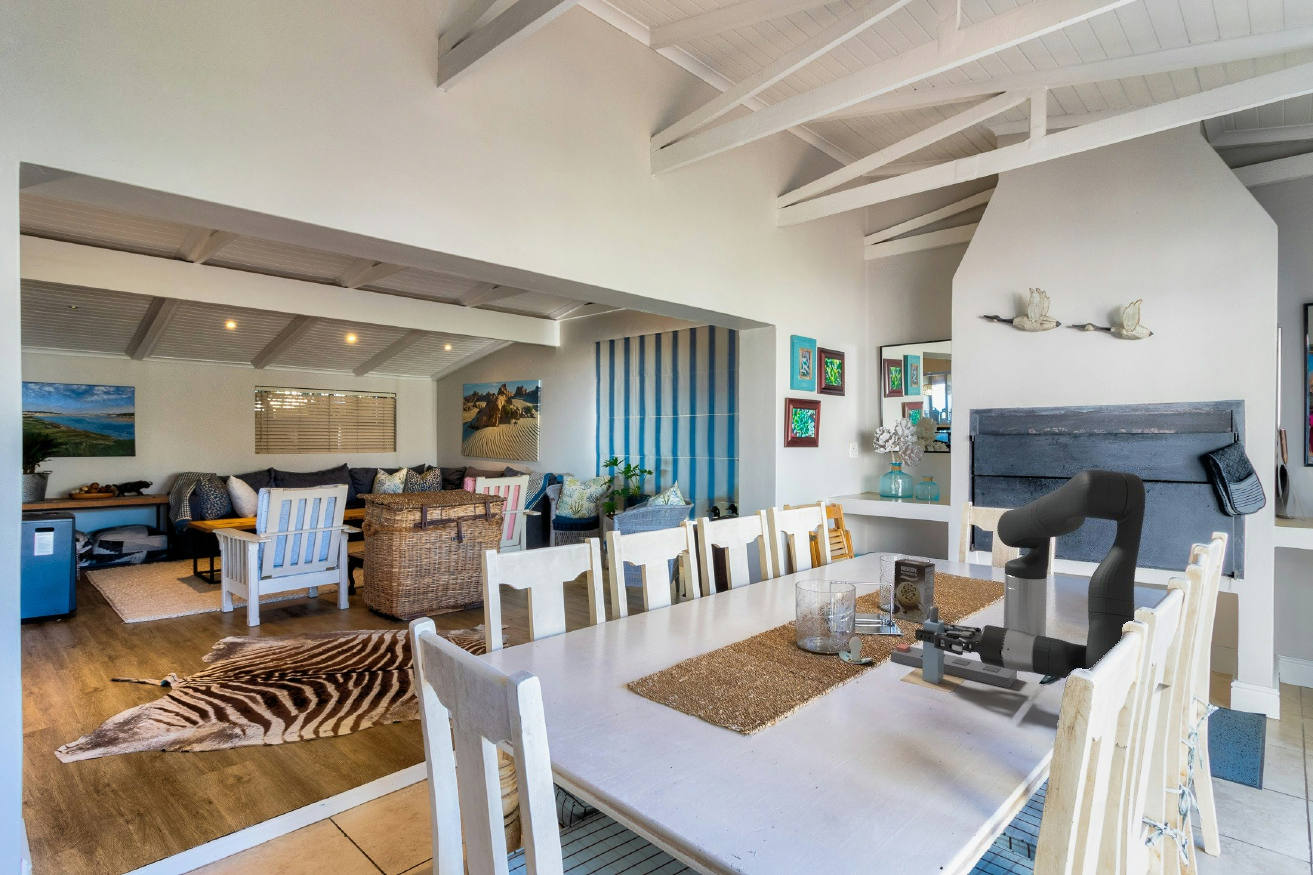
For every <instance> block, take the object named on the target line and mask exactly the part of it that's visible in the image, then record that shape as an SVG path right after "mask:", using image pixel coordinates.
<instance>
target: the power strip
mask: <svg viewBox="0 0 1313 875" xmlns="http://www.w3.org/2000/svg"><path fill="white" fill-rule="evenodd" d="M890 662H893V663H897V664H903V665H907V666H910V667H915V668H920V669H923V648H919V647H916V646H914V647H913V646H911V645H910V644H904V643H900V644H898V645H897V646H895V649H893V650H892V651H890ZM944 674H946V675H950V676H955V677H959V678H963V679H965V680H972V681H975V682H980V683H984V684H987V685H993V686H997V687H1001V688H1005V689H1010V687H1011V686H1012V685H1013V684H1014V683H1015V682H1016V681H1017V679H1018V671H1016V670H1011V669H1007V668H1002V667H997V666H993V665H988V664H984V663H982V661H981V660H977V659H970V658H966V657H961V656H958V655H957V656H956V655H952V654H947V653H944Z"/></svg>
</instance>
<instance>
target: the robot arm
mask: <svg viewBox="0 0 1313 875" xmlns="http://www.w3.org/2000/svg"><path fill="white" fill-rule="evenodd" d="M1145 488H1146V487H1145V484H1144V482H1143V480H1142V479H1141V478H1140V476H1138V475H1137V474H1134V473H1129V472H1121V471H1113V470H1103V469H1085V470H1083V471H1080V472H1079V473H1077V474H1076V475H1074V476H1073V477H1071V479H1069V480H1068V481H1067V482H1066V483H1065V484H1063V485H1062V486H1061V487H1059V488H1057V489H1055V490H1054V491H1052V492H1049V493H1046V494H1045V495H1042V496H1041V497H1038V498H1037V499H1036V500H1034V501H1031V502H1029V503H1027V504H1026V505H1023V506H1021V507H1019V508H1014V509H1010V510H1006V511H1004V512H1003V513H1002V514H1001V515H1000V517H999V519H998V522H997V528H996V529H997V530H996V531H997V535H998V538H999V540H1000V541H1001V542H1002V544H1004V545H1005V546H1007V547H1010V548H1015V549H1018V548H1019V549H1028V550H1027V551H1026V553H1024V554H1023V555H1022V556H1020V557H1017V558H1015V559H1014V558H1013V559H1011V560H1008V561H1007V562H1005V564H1004V583H1003V584H1004V587H1003V588H1004V589H1003V590H1004V593H1003V600H1004V601H1003V627H1002V626H995V625H989V624H986V625H984V626H983V627H982V628H980V627H978V626H977V627H975V626H967V625H957V624H954V623H952V624H949V625H945V626H944V633H940V632H933V631H928V630H923V629H921V628H916V629H915V631H914V632H915V635H914V638H915V640H917V641H919V642H920V641H921V642H923V641H925V642H929V643H934V648H937V649H941V650H944V652H948V653H951V654H954V655H957V656H963V655H964V653H965V654H972V653H977V654H978V655H979V659H980V661H981V662H982V663H984V664H988V665H993V666H997V667H1002V668H1007V669H1011V670H1016V671H1017V672H1023V673H1032V674H1036V675H1040V676H1041V675H1042V676H1045V675H1046V676H1051V677H1056V678H1058V679H1066V677H1067V676H1068V674H1069V673H1070V672H1071V671H1072V670H1074V669H1076V668H1082V669H1089V668H1091V667H1093V665H1094V664H1096V662H1097V661H1099V659H1101V658H1102V657H1103V655H1105V654H1106V653H1107V652H1108V651H1109V650H1110V649H1112V647H1114V646H1115V644H1117V643H1118V641H1120V639H1121V636H1122V627H1123V624H1125V623H1126V622H1128V621H1133V620H1134V621H1135V581H1136V580H1135V578H1136V576H1135V575H1136V569H1137V562H1138V556H1139V551H1140V544H1141V539H1142V532H1143V531H1142V530H1143V525H1144V516H1145V511H1146V509H1145V508H1146V498H1147V497H1146V489H1145ZM1086 518H1090V519H1097V520H1098V519H1100V520H1108V521H1115V522H1116V533H1115V539H1114V541H1113V544H1112V546H1111V547H1110V549H1109V551H1108V552H1107V553H1106V555H1105V557H1104V558H1103V559H1102V560H1101V562H1100V563H1099V565H1097V567H1096V568H1095V570H1094V571H1093V574H1092V576H1091V577H1090V580H1089V583H1088V588H1087V589H1088V590H1087V612H1088V613H1087V617H1088V618H1087V619H1088V631H1087V640H1086V645H1084V644H1078V643H1072V642H1069V641H1067V640H1063V639H1059V638H1055V637H1051V636H1047V634H1046V633H1047V632H1046V631H1047V595H1048V592H1047V589H1048V588H1047V587H1048V583H1047V582H1048V581H1047V580H1048V579H1047V578H1048V571H1049V563H1050V547H1051V538H1057V537H1063V536H1066V535H1068V534H1069V535H1070V534H1071V533H1073V532H1076V531H1077V530H1078V529H1080V528H1081V527H1082V526H1083V524H1085V520H1086ZM941 640H943V641H944V643H943V642H941Z"/></svg>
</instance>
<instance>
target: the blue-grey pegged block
mask: <svg viewBox="0 0 1313 875" xmlns="http://www.w3.org/2000/svg"><path fill="white" fill-rule="evenodd" d="M945 623H946V622H945V620H942V619H941V620H940V619H939V607H938V606H935V605H933V606H930V618H929V619H928V620H926V621H925V622H923V624H922V626H923V627H922V628H923V630H928V631H933V632H940V633H944V626H946V625H945ZM941 642H943V643H944V641H943V640H941ZM922 649H923V668H922V669H923V672H922V680H923V681H927V682H931V683H936V684H938V683H939V682H940V681H941V680H943V679H944V654H945V651H944V650H941V649H937V648H934V643H929V642H925V641H922Z"/></svg>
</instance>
